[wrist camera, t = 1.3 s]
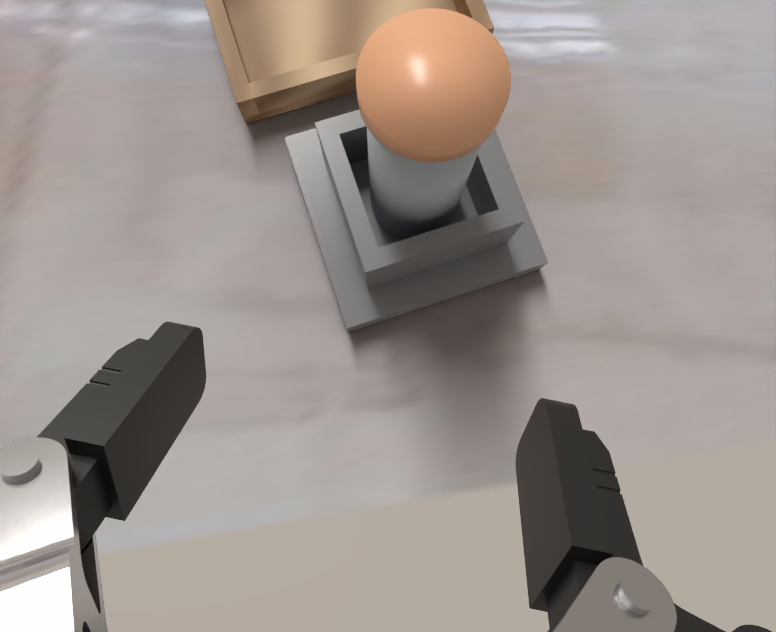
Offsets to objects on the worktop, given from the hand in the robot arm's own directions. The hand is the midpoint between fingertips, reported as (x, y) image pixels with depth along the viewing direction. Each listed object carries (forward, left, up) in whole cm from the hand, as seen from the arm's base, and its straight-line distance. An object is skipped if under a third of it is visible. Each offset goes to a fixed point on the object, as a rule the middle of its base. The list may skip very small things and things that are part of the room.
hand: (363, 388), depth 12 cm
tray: (+6, +24, -17) cm, 30 cm away
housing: (+6, +10, -17) cm, 20 cm away
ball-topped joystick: (+6, +10, -15) cm, 19 cm away
